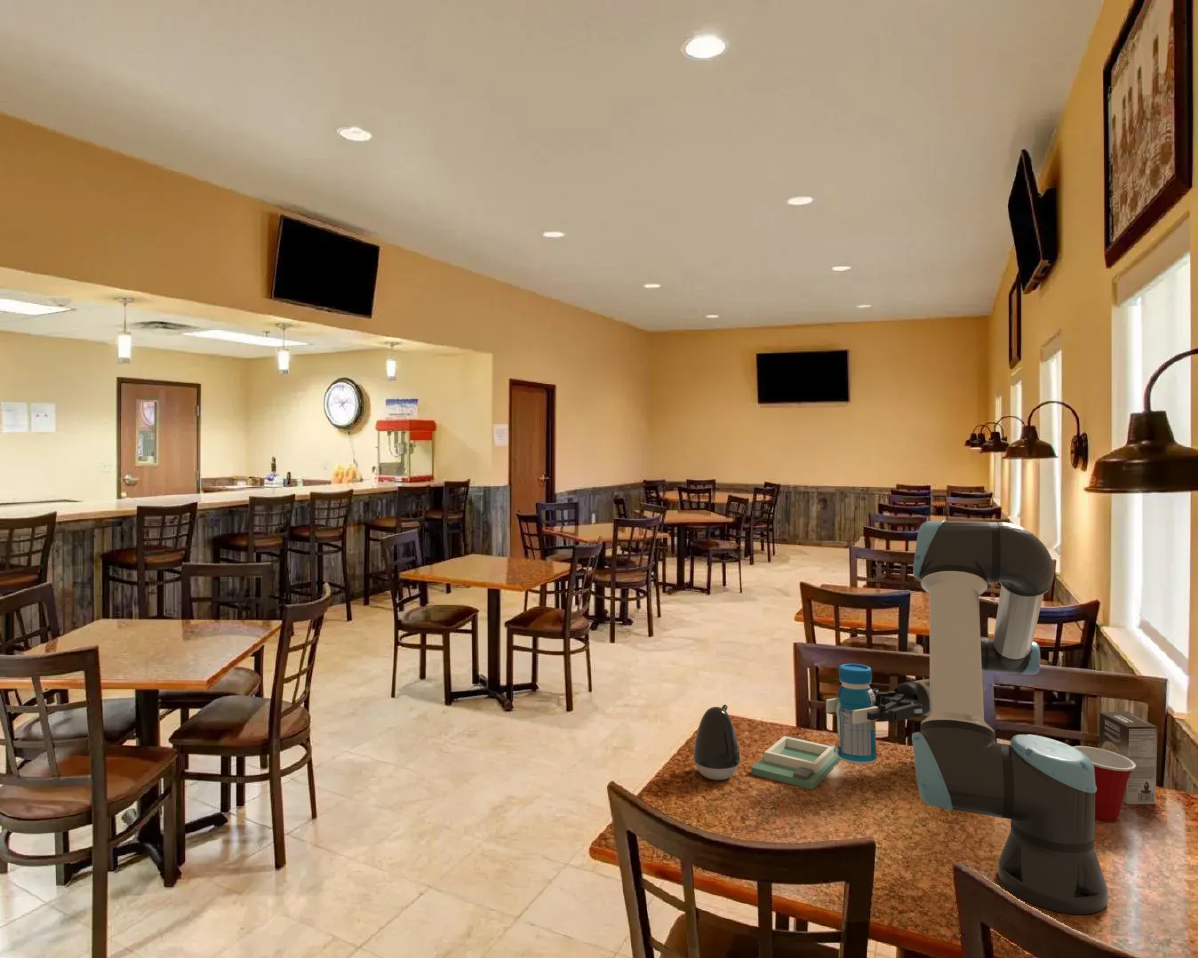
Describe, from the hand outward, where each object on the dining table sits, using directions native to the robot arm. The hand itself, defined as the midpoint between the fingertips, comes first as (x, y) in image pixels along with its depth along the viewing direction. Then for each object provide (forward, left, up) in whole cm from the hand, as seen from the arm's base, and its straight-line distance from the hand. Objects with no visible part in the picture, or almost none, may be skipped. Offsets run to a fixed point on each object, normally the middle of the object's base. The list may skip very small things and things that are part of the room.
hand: (840, 711), depth 160 cm
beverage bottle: (+4, -2, -11) cm, 12 cm away
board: (+4, +11, -15) cm, 19 cm away
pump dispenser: (-12, +24, -16) cm, 31 cm away
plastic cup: (+14, -46, -16) cm, 51 cm away
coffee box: (+28, -50, -16) cm, 60 cm away
